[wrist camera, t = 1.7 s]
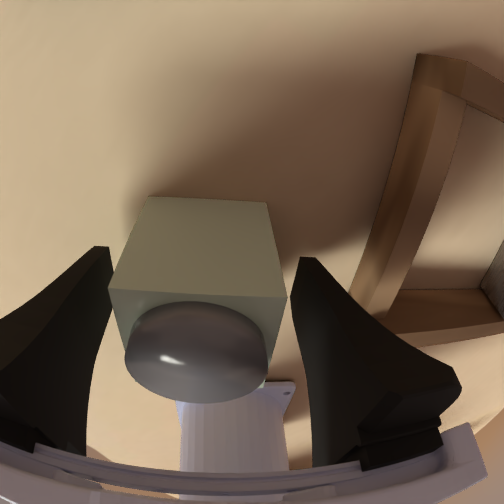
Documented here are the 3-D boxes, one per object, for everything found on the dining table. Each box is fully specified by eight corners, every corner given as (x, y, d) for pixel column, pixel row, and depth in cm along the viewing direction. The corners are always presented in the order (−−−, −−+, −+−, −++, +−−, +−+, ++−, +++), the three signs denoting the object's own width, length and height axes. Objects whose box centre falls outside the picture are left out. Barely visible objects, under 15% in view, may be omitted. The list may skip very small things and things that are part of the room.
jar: (252, 289, 15) (264, 407, 10) (155, 284, 14) (132, 400, 9) (265, 201, 12) (292, 321, 7) (148, 195, 11) (98, 310, 7)
